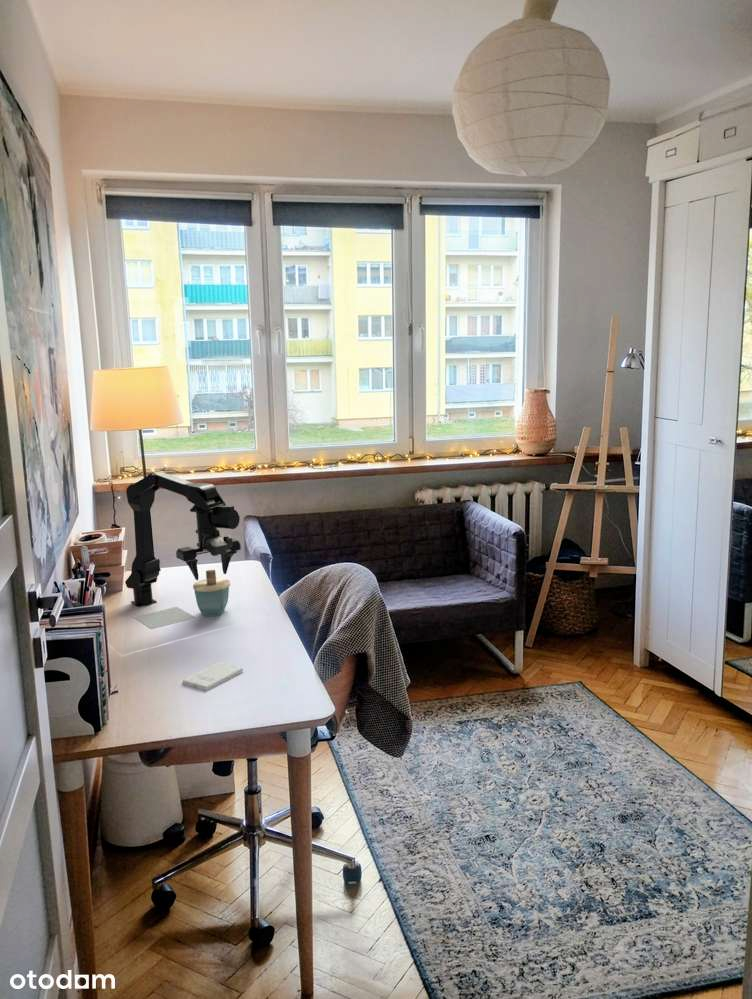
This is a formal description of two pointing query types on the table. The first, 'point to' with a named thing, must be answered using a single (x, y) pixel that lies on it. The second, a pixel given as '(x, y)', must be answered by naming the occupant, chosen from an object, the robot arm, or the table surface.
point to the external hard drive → (213, 676)
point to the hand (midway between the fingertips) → (211, 576)
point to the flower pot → (212, 601)
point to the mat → (164, 617)
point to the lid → (211, 583)
